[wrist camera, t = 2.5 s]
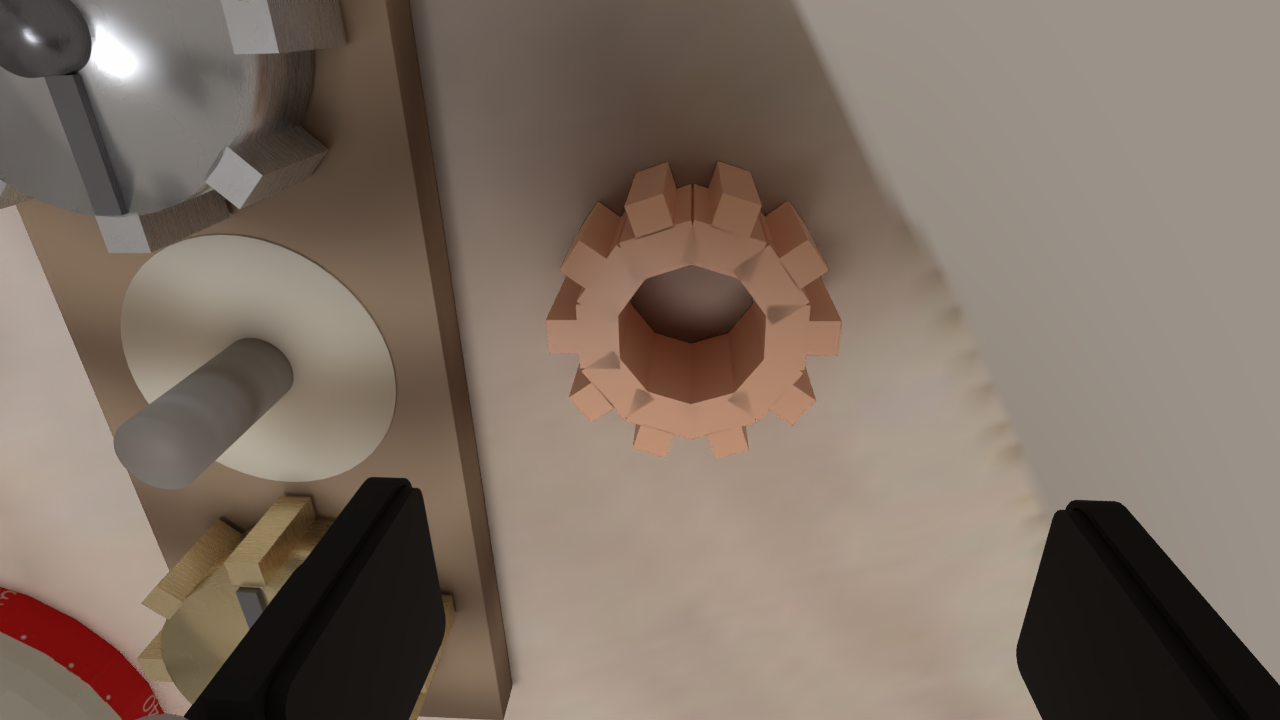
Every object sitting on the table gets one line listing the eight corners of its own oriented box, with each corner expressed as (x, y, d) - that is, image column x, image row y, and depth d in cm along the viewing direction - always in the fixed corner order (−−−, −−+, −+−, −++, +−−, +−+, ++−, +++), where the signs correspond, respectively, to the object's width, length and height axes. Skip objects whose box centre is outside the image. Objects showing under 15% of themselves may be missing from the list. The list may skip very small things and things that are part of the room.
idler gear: (533, 208, 19) (501, 247, 16) (779, 123, 18) (798, 148, 15) (620, 416, 22) (607, 485, 19) (839, 357, 21) (866, 421, 18)
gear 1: (-121, -206, 15) (-364, -271, 11) (294, -228, 14) (168, -304, 11) (49, 218, 19) (-93, 265, 15) (379, 216, 18) (307, 264, 15)
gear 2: (160, 493, 23) (66, 579, 19) (433, 499, 22) (386, 589, 19) (237, 686, 27) (171, 785, 23) (470, 696, 26) (437, 799, 23)
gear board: (-118, -269, 16) (-540, -413, 10) (363, -297, 15) (178, -468, 10) (248, 675, 29) (147, 826, 24) (512, 686, 28) (470, 845, 23)
